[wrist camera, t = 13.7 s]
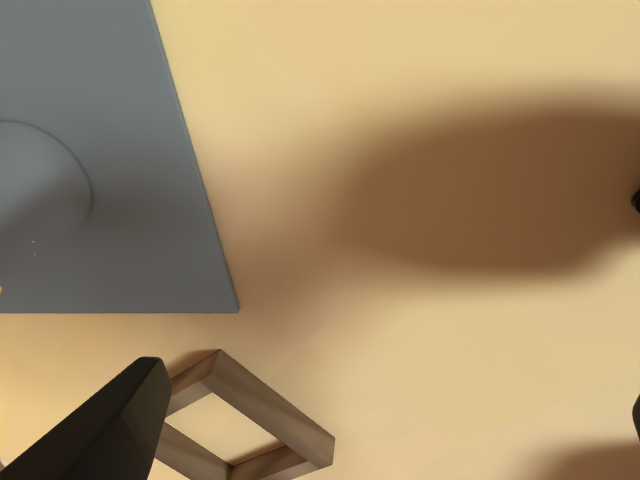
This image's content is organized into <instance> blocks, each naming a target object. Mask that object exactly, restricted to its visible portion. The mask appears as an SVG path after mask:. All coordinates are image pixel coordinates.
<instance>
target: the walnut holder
mask: <svg viewBox="0 0 640 480" xmlns="http://www.w3.org/2000/svg"><path fill="white" fill-rule="evenodd" d="M171 383H172V394H171V398H170V402H169V406H168V409H167V413H166V417H167V416H169V415H171V414H173V413H175V412H177V411H178V410H180V409H182V408H184V407H186V406H188V405H189V404H191V403H193V402H195V401H197V400H199V399H201V398H202V397H204V396H206V395H208V394H210V393H212V392H213V393H215V394H216V395H218V396H219V397H220V398H222V399H223V400H225V401H226V402H227V403H229V404H230V405H231V406H233V407H234V408H236V409H237V410H238V411H240V412H241V413H243V414H244V415H245V416H247V417H248V418H249V419H251V420H252V421H254V422H255V423H256V424H258V425H259V426H261V427H262V428H263V429H265V430H266V431H267V432H269V433H270V434H272V435H273V436H274V437H276V438H277V439H279V440H280V441H281V442H283V443H284V444H285V445H286V446H284V447H281V448H279V449H276V450H274V451H271V452H269V453H266V454H264V455H262V456H259V457H257V458H254V459H252V460H249V461H247V462H244V463H242V464H239V465H237V466H235V467H232V466H231V465H229V464H228V463H226V462H224V461H223V460H221V459H220V458H218V457H217V456H215V455H214V454H212V453H211V452H209V451H208V450H206V449H205V448H203V447H202V446H200V445H199V444H197V443H195V442H194V441H192V440H191V439H189V438H188V437H186V436H185V435H183V434H182V433H180V432H179V431H177V430H176V429H174V428H173V427H171V426H170V425H168V424H166V423H165V422H164V424H163V428H162V431H161V435H160V439H159V442H158V446H157V449H156V453H155V457H154V458H156V459H158V460H159V461H161V462H163V463H164V464H166V465H167V466H169V467H171V468H172V469H174V470H176V471H177V472H179V473H181V474H182V475H184V476H185V477H187V478H189V479H190V480H291V479H294V478H297V477H299V476H302V475H305V474H308V473H311V472H313V471H316V470H319V469H322V468H325V467H327V466H330V465H332V464H333V454H334V445H335V438H334V437H333V436H332V435H330V434H329V433H328V432H327V431H325V430H324V429H323V428H321V427H320V426H319V425H317V424H316V423H315V422H314V421H312V420H311V419H310V418H308V417H307V416H306V415H305V414H303V413H302V412H301V411H299V410H298V409H297V408H296V407H294V406H293V405H292V404H290V403H289V402H288V401H286V400H285V399H284V398H283V397H281V396H280V395H279V394H277V393H276V392H275V391H274V390H272V389H271V388H270V387H268V386H267V385H266V384H265V383H263V382H262V381H261V380H259V379H258V378H257V377H255V376H254V375H253V374H252V373H250V372H249V371H248V370H246V369H245V368H244V367H243V366H241V365H240V364H239V363H237V362H236V361H235V360H234V359H232V358H231V357H230V356H228V355H227V354H226V353H224V352H223V351H222V350H221V349H220V350H219V351H217V352H215V353H214V354H212V355H210V356H209V357H207V358H205V359H204V360H202V361H200V362H199V363H197V364H195V365H194V366H192V367H190V368H189V369H187V370H185V371H184V372H182V373H181V374H179V375H177V376H176V377H174V378H172V379H171ZM166 417H165V418H166Z"/></svg>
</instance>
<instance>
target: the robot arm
mask: <svg viewBox="0 0 640 480" xmlns="http://www.w3.org/2000/svg"><path fill="white" fill-rule="evenodd" d="M631 204H632V206H633V207H634V208H635V209H636V211H638V212H639V213H640V190H639V191H638V192H637V193H636V194H635V195H634V196H633V198H632V200H631ZM171 394H172V383H171V380H170V377H169V375H168V372H167V370H166V367H165V365H164V362H163V360H162V359H160V358H158V357H140V358H138V359H137V360H135V361H134V362H133V363H132V364H131V365H129V366H128V367H127V368H126V369H124V370H123V371H122V372H121V373H120V374H118V375H117V376H116V377H115V378H113V379H112V380H111V381H110V382H109V383H107V384H106V385H105V386H104V387H103V388H101V389H100V390H99V391H98V392H96V393H95V394H94V395H93V396H92V397H90V398H89V399H88V400H87V401H85V402H84V403H83V404H82V405H81V406H79V407H78V408H77V409H76V410H75V411H73V412H72V413H71V414H70V415H68V416H67V417H66V418H65V419H64V420H62V421H61V422H60V423H59V424H57V425H56V426H55V427H54V428H53V429H51V430H50V431H49V432H48V433H46V434H45V435H44V436H43V437H42V438H40V439H39V440H38V441H37V442H36V443H34V444H33V445H32V446H31V447H29V448H28V449H27V450H26V451H25V452H23V453H22V454H21V455H20V456H18V457H17V458H16V459H15V460H14V461H12V462H11V463H10V464H9V465H8V466H6V467H5V468H4V469H3V470H1V471H0V480H147V478H148V475H149V473H150V470H151V467H152V463H153V460H154V457H155V453H156V449H157V446H158V442H159V439H160V435H161V431H162V428H163V424H164V420H165V417H166V413H167V409H168V406H169V402H170V398H171ZM632 416H633V421H634V425H635V428H636V431H637V434H638V437H639V441H640V395H639V396H638V398H637V400H636V402H635V404H634V406H633V411H632Z"/></svg>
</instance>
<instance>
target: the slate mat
mask: <svg viewBox="0 0 640 480" xmlns="http://www.w3.org/2000/svg"><path fill="white" fill-rule="evenodd" d="M0 121H13V122H19V123H23V124H27V125H30V126H32V127H35V128H37V129H39V130H41V131H43V132H45V133H47V134H48V135H50V136H51V137H53V138H54V139H56V140H57V141H58V142H60V143H61V144H62V145H63V146H64V147H65V148H66V149H67V150H68V151H69V152H70V153H71V154H72V155H73V156H74V157H75V159H76V160H77V161H78V163H79V164H80V165H81V167H82V169H83V170H84V172H85V174H86V176H87V179H88V181H89V184H90V187H91V192H92V205H91V210H90V212H89V214H88V216H87V218H86V219H85V221H84V222H83V223H82V224H81V225H79V226H78V227H77V228H75V229H74V230H72V231H71V232H69V233H67V234H66V235H64V236H62V237H60V238H58V239H57V240H55V241H53V242H51V243H50V244H48V245H47V246H45V247H44V248H42V249H41V250H40V251H38V252H37V253H36V255H34V256H32V257H31V258H30V259H29V260H28V261H27V262H26V263H25V265H24V266H23V267H22V268H21V269H20V270H19V271H18V273H17V274H16V275H15V277H14V278H13V279H12V281H11V282H10V283H9V284H8V286H7V287H6V289H5V290H4V291H3V293H2V294H1V296H0V313H238V312H239V309H240V307H239V304H238V301H237V297H236V294H235V290H234V287H233V283H232V280H231V277H230V273H229V270H228V266H227V263H226V260H225V256H224V253H223V249H222V246H221V242H220V239H219V236H218V232H217V229H216V225H215V222H214V218H213V215H212V212H211V208H210V205H209V201H208V198H207V194H206V191H205V188H204V184H203V181H202V177H201V174H200V170H199V167H198V164H197V160H196V157H195V153H194V150H193V146H192V143H191V140H190V136H189V133H188V129H187V126H186V122H185V119H184V116H183V112H182V109H181V105H180V102H179V98H178V95H177V92H176V88H175V85H174V81H173V78H172V75H171V71H170V68H169V64H168V61H167V57H166V54H165V51H164V47H163V44H162V40H161V37H160V33H159V30H158V27H157V23H156V20H155V16H154V13H153V9H152V6H151V3H150V0H0Z"/></svg>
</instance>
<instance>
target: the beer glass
mask: <svg viewBox="0 0 640 480" xmlns="http://www.w3.org/2000/svg"><path fill="white" fill-rule="evenodd" d="M91 205H92V192H91V187H90V184H89V181H88V179H87V176H86V174H85V172H84V170H83V169H82V167H81V165H80V164H79V163H78V161H77V160H76V159H75V157H74V156H73V155H72V154H71V153H70V152H69V151H68V150H67V149H66V148H65V147H64V146H63V145H62V144H61V143H60V142H58V141H57V140H56V139H54V138H53V137H51V136H50V135H48V134H47V133H45V132H43V131H41V130H39V129H37V128H35V127H32V126H30V125H27V124H23V123H19V122H13V121H0V296H1V294H2V293H3V291H4V290H5V289H6V287H7V286H8V284H9V283H10V282H11V281H12V279H13V278H14V277H15V275H16V274H17V273H18V271H19V270H20V269H21V268H22V267H23V266H24V265H25V263H26V262H27V261H28V260H29V259H30V258H31V257H32V256H34V255H36V253H37V252H38V251H40V250H41V249H42V248H44V247H45V246H47V245H48V244H50V243H51V242H53V241H55V240H57V239H58V238H60V237H62V236H64V235H66V234H67V233H69V232H71V231H72V230H74V229H75V228H77V227H78V226H79V225H81V224H82V223H83V222H84V221H85V219H86V218H87V216H88V214H89V212H90V210H91Z"/></svg>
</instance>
